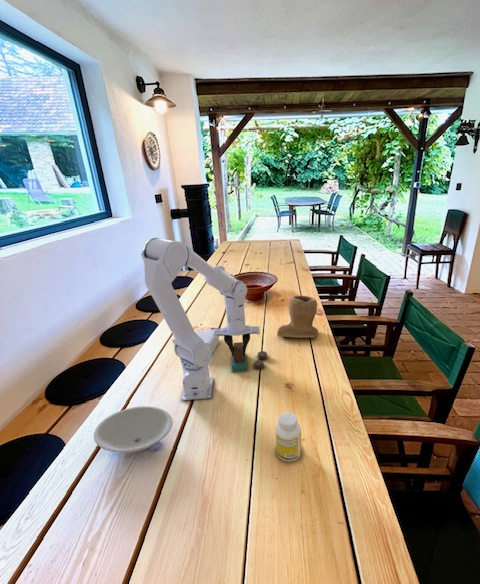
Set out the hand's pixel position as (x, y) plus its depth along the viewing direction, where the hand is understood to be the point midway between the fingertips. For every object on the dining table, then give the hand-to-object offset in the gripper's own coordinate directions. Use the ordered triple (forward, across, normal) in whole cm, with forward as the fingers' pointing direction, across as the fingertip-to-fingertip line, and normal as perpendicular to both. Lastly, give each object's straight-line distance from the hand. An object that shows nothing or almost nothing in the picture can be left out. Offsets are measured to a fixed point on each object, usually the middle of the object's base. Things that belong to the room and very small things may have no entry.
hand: (238, 354), depth 105 cm
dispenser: (+1, +12, -15) cm, 19 cm away
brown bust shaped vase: (+4, -23, -18) cm, 29 cm away
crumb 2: (+3, -6, +3) cm, 8 cm away
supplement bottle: (+4, -11, +39) cm, 41 cm away
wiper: (+3, 0, 0) cm, 3 cm away
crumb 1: (+3, -8, -2) cm, 9 cm away
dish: (+4, +24, +32) cm, 40 cm away
